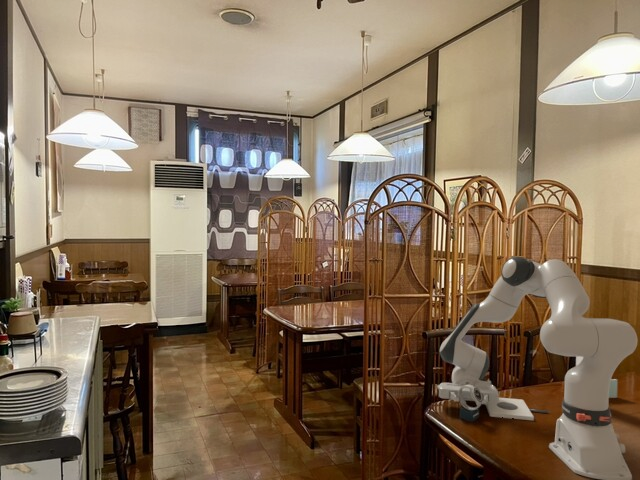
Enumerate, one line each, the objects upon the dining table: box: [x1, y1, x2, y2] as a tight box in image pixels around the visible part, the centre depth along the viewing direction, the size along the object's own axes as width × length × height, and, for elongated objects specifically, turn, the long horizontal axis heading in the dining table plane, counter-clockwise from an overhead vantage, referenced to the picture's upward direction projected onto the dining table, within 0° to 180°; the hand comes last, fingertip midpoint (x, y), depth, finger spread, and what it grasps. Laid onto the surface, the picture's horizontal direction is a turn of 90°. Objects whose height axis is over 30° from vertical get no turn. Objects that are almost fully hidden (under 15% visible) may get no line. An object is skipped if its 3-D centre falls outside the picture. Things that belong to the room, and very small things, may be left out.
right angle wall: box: [609, 378, 619, 399], centre depth 180 cm, size 12×12×8 cm
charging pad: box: [484, 397, 550, 421], centre depth 161 cm, size 16×21×1 cm
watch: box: [458, 385, 483, 423], centre depth 154 cm, size 6×8×11 cm
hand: (470, 400), depth 154 cm, fingers closed on watch, 7 cm apart
